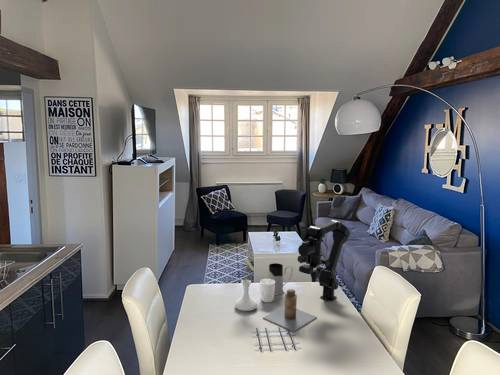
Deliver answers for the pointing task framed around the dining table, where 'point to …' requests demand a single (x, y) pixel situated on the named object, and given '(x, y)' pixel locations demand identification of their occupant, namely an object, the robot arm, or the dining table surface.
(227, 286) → the dining table surface
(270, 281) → the white cup
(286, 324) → the slate tile
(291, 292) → the pepper mill
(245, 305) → the flower in vase
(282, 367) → the dining table surface
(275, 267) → the grey pitcher
